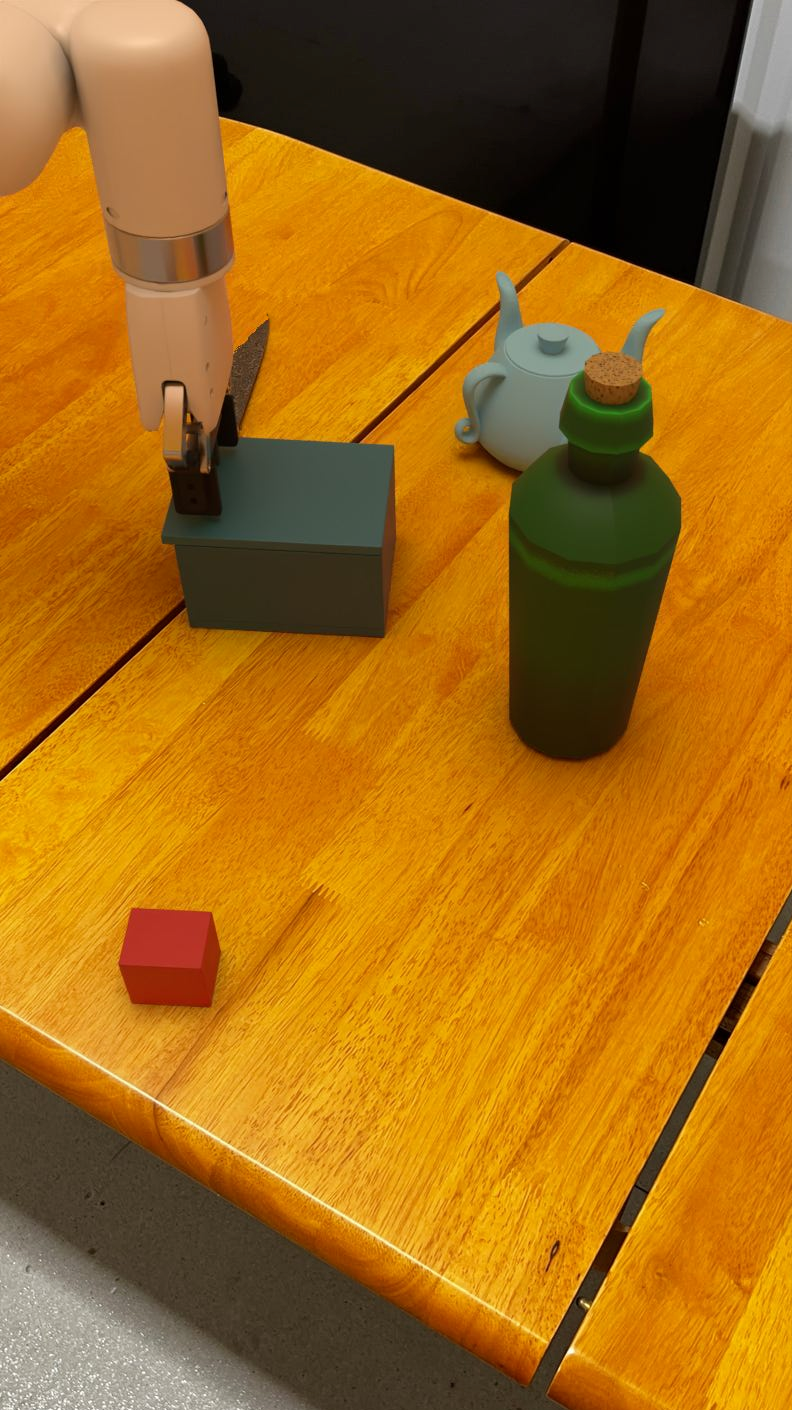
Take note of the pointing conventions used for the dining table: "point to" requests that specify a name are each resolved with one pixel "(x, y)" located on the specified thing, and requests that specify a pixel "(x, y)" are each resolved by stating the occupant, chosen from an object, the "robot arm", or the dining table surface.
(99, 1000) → the dining table surface
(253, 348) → the knife
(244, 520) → the lid
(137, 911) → the red block
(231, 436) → the robot arm
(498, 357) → the teapot
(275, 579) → the cool box
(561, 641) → the bottle
